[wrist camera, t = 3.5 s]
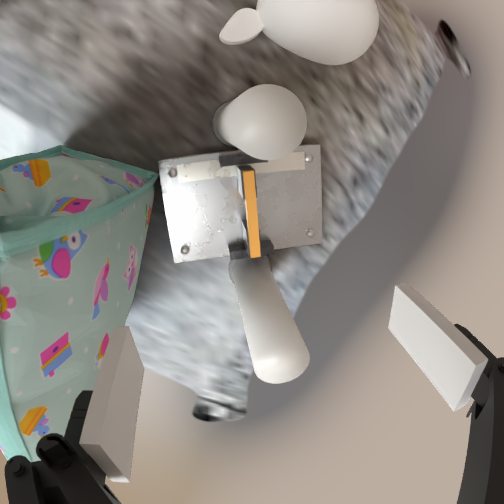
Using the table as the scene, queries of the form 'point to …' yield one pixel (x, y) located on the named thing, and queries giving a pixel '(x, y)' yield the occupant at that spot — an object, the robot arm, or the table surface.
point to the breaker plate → (241, 202)
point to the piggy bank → (309, 27)
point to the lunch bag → (63, 281)
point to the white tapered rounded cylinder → (268, 322)
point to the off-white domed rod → (262, 122)
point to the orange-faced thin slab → (249, 210)
